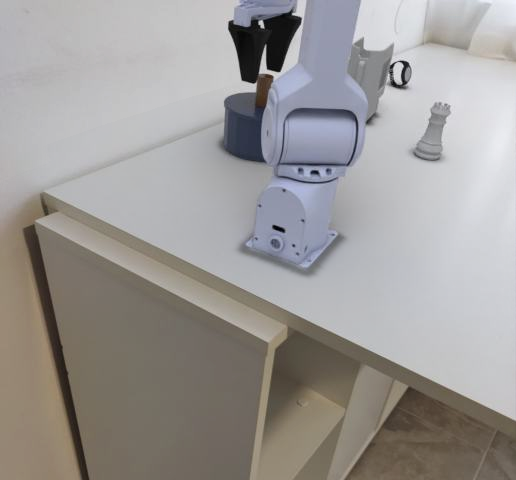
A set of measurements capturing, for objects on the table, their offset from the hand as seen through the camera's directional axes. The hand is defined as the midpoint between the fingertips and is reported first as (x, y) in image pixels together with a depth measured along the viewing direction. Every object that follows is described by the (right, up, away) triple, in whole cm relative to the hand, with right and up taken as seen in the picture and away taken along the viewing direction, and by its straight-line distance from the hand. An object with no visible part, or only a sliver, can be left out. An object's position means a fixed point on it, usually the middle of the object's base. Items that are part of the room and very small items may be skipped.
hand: (261, 76), depth 77 cm
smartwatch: (+30, +18, +40) cm, 53 cm away
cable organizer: (+18, +4, +23) cm, 30 cm away
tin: (0, -8, +7) cm, 10 cm away
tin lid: (0, -3, +3) cm, 4 cm away
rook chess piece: (+27, -8, +11) cm, 30 cm away
